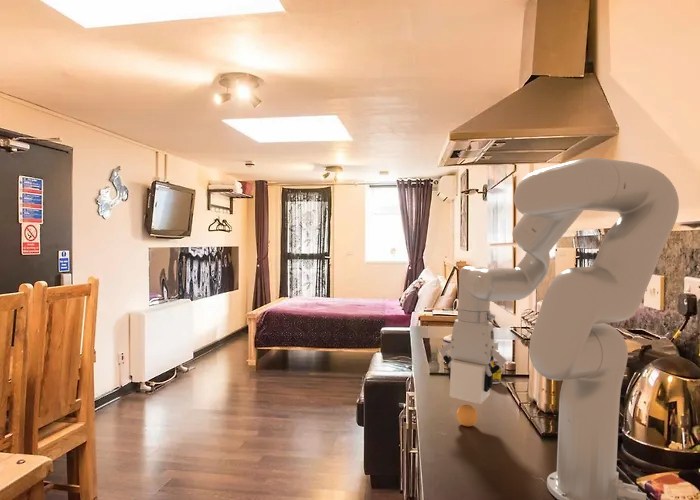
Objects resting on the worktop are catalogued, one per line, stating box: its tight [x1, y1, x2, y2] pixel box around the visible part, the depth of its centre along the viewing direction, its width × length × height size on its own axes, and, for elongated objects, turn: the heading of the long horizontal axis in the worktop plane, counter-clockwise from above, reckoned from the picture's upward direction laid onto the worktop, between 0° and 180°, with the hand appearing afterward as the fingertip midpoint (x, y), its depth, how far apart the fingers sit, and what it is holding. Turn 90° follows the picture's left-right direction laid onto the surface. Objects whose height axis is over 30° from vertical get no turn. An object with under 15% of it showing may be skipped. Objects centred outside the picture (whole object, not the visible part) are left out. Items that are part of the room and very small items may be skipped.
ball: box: [456, 404, 479, 427], centre depth 109 cm, size 5×5×5 cm
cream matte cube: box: [449, 359, 491, 405], centre depth 110 cm, size 8×8×9 cm
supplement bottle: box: [491, 349, 502, 385], centre depth 144 cm, size 6×6×10 cm
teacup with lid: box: [442, 333, 452, 363], centre depth 166 cm, size 12×9×12 cm
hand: (470, 386), depth 110 cm, fingers closed on cream matte cube, 7 cm apart
